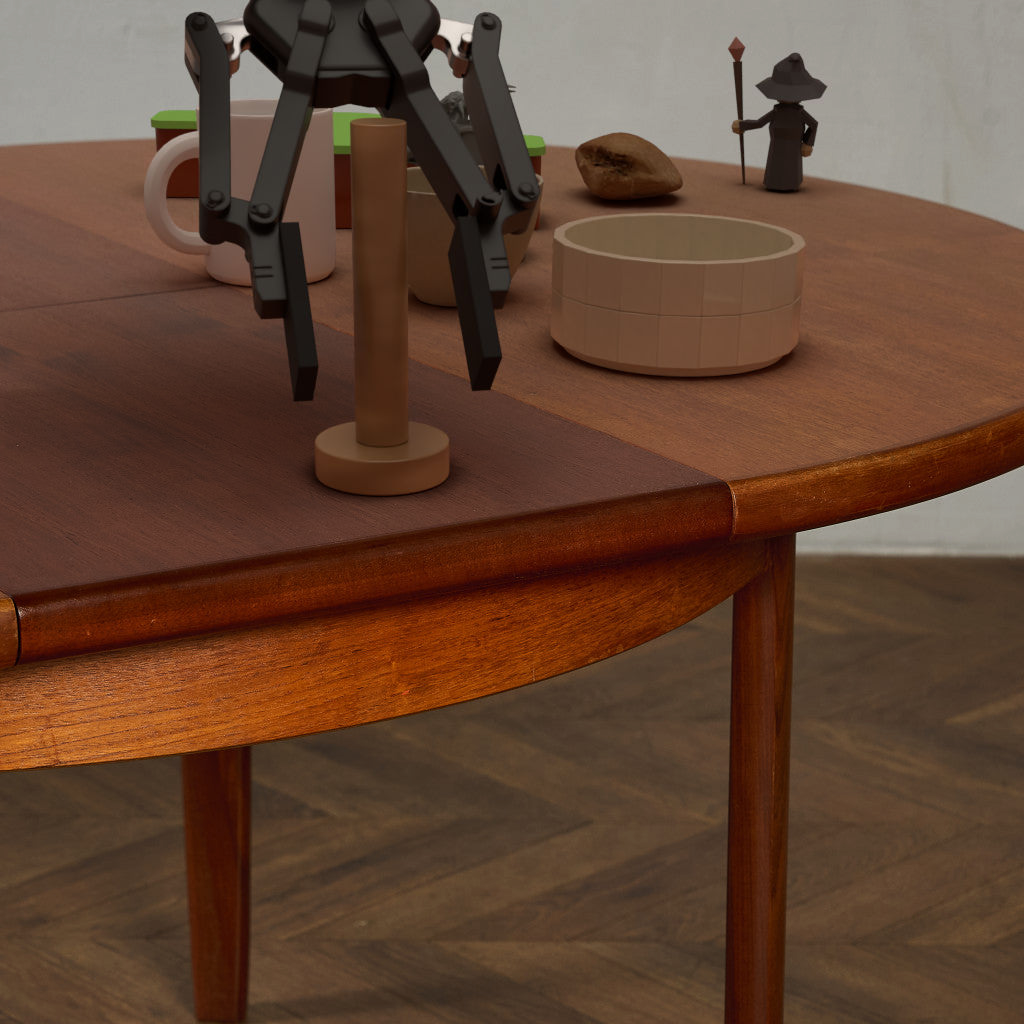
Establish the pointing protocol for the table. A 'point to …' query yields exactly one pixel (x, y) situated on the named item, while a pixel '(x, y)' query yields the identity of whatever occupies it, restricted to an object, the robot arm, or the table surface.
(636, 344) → the bowl
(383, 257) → the masher
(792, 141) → the wizard figurine
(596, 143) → the brown rounded lump
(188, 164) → the planter
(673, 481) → the table surface
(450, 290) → the flower pot
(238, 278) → the mug
